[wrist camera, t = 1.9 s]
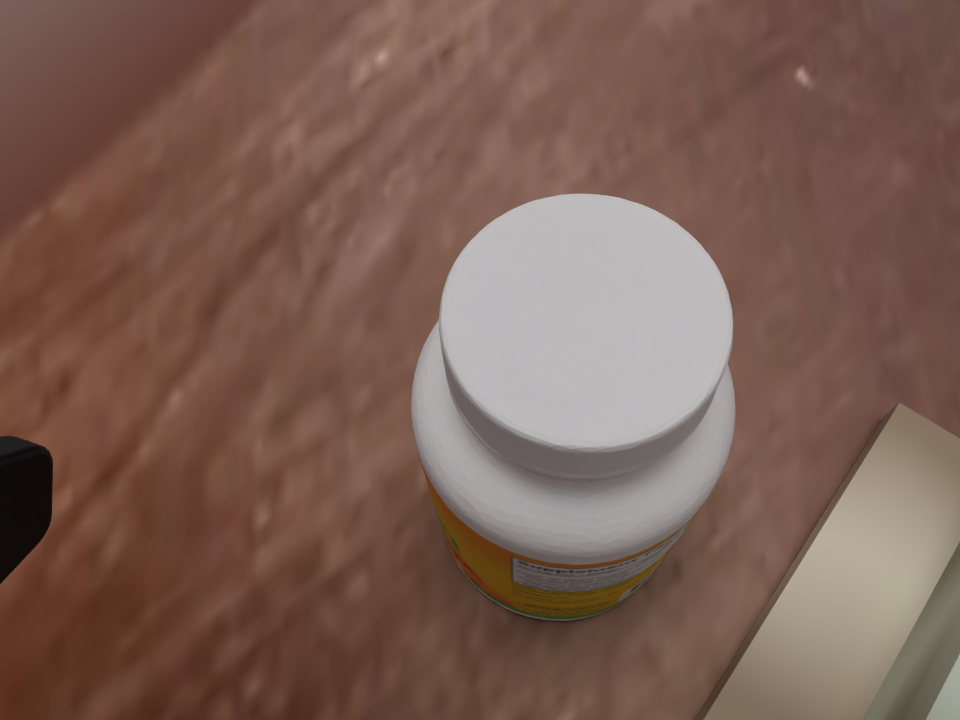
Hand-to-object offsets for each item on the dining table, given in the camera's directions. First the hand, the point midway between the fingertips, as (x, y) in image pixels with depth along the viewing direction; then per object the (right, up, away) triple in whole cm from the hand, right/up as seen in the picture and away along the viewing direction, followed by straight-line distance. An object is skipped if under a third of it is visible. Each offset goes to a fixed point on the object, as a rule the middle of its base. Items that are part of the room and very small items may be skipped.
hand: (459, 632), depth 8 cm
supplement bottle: (+2, -1, +12) cm, 13 cm away
